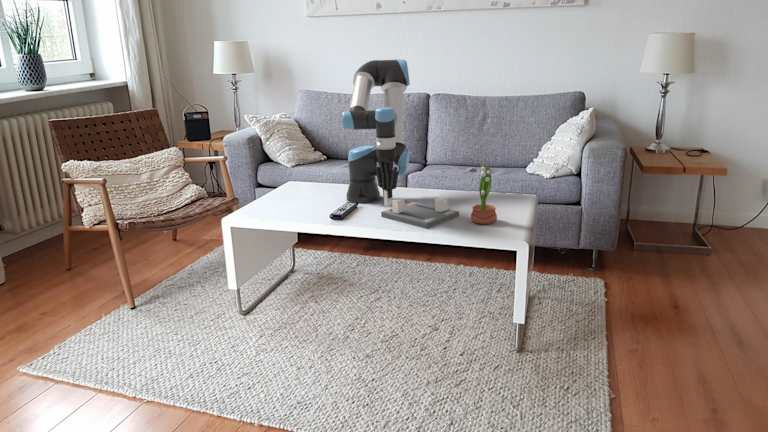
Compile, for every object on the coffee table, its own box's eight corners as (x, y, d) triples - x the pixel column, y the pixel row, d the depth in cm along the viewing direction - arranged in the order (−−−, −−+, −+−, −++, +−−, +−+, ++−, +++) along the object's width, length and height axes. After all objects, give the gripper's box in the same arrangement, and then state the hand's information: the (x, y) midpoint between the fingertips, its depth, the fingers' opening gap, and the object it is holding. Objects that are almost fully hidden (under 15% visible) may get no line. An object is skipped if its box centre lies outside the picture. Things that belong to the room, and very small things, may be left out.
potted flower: (496, 227, 216) (498, 161, 208) (469, 226, 218) (470, 161, 210) (497, 218, 227) (498, 155, 220) (471, 217, 229) (471, 154, 222)
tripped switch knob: (392, 212, 232) (392, 200, 230) (399, 209, 234) (399, 197, 233) (397, 213, 229) (397, 201, 228) (404, 211, 232) (404, 199, 231)
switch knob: (435, 210, 231) (435, 198, 230) (441, 208, 234) (441, 196, 233) (441, 212, 229) (440, 199, 228) (447, 209, 232) (447, 197, 230)
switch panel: (381, 216, 234) (381, 211, 233) (414, 205, 247) (414, 201, 247) (426, 228, 217) (426, 223, 217) (459, 216, 231) (459, 211, 230)
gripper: (367, 147, 230) (370, 204, 237) (391, 150, 221) (393, 210, 228) (381, 144, 235) (383, 200, 242) (404, 147, 226) (406, 206, 233)
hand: (388, 205), depth 235 cm, fingers closed
